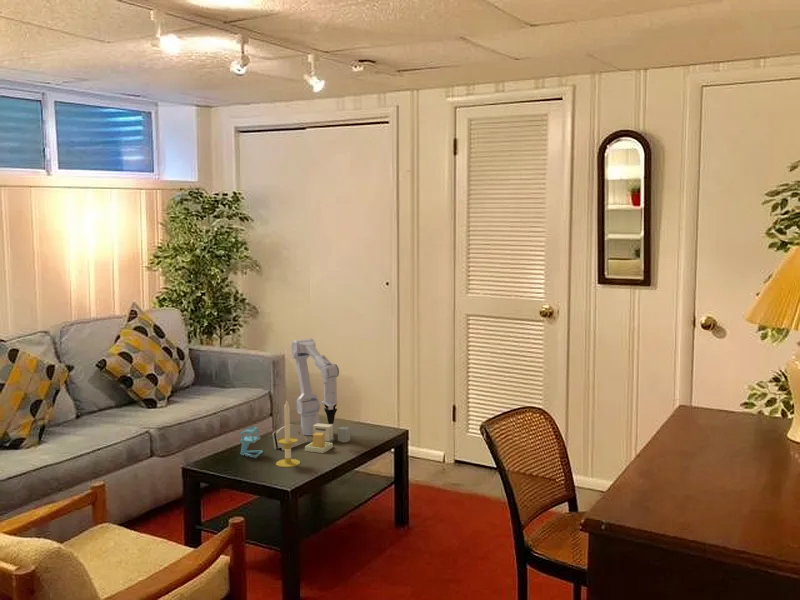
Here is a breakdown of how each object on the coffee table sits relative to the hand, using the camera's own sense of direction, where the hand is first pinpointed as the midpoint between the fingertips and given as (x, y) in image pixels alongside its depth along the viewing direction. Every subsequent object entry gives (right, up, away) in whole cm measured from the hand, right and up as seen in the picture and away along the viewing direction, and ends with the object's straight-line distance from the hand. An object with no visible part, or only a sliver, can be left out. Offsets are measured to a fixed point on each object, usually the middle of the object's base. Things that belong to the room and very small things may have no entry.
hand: (330, 421), depth 353 cm
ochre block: (-4, -10, -8) cm, 14 cm away
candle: (-15, -13, -27) cm, 34 cm away
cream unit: (-4, -9, +5) cm, 11 cm away
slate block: (+6, -10, +4) cm, 12 cm away
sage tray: (-5, -11, -8) cm, 14 cm away
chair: (-33, -12, -15) cm, 38 cm away
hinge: (-18, -11, -1) cm, 21 cm away
